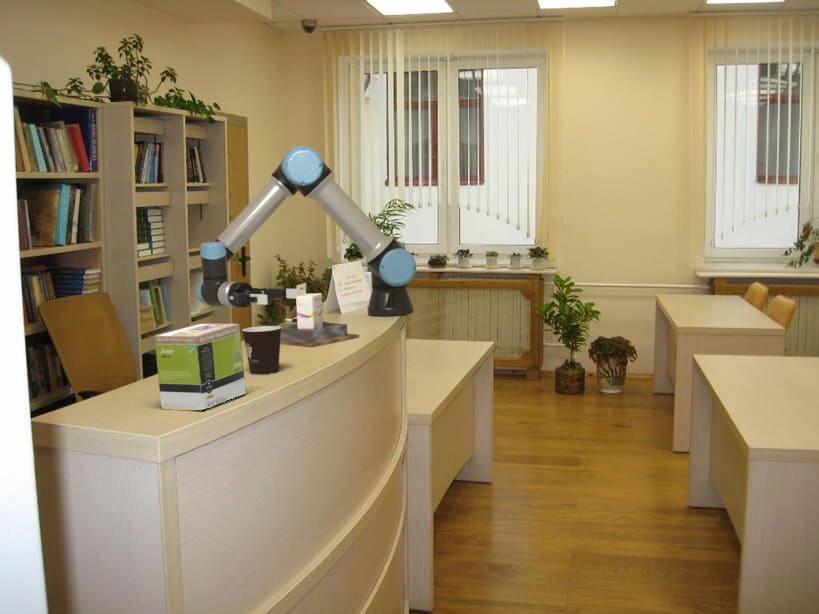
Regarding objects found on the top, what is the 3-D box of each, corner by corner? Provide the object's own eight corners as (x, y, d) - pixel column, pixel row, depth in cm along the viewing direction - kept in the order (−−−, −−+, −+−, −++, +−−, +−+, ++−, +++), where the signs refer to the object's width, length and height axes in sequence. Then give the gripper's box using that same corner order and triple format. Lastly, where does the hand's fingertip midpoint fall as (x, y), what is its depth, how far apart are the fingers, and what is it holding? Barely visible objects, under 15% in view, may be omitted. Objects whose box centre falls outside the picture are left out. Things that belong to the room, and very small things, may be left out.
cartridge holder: (309, 332, 271) (309, 320, 270) (359, 337, 258) (358, 323, 257) (262, 341, 257) (261, 328, 257) (312, 347, 244) (311, 332, 244)
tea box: (205, 393, 191) (200, 322, 189) (247, 395, 187) (242, 322, 185) (159, 410, 177) (153, 333, 175) (203, 412, 173) (197, 334, 171)
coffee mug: (284, 374, 208) (281, 330, 207) (245, 377, 207) (242, 332, 205) (282, 365, 219) (280, 323, 218) (245, 368, 218) (242, 325, 217)
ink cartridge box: (315, 339, 253) (312, 285, 251) (297, 339, 254) (294, 285, 252) (324, 334, 262) (321, 282, 260) (307, 334, 263) (304, 282, 261)
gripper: (269, 301, 287) (317, 304, 273) (203, 312, 268) (251, 315, 254) (267, 277, 286) (315, 279, 272) (201, 286, 267) (249, 288, 253)
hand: (284, 296), depth 263 cm, fingers open, 13 cm apart
